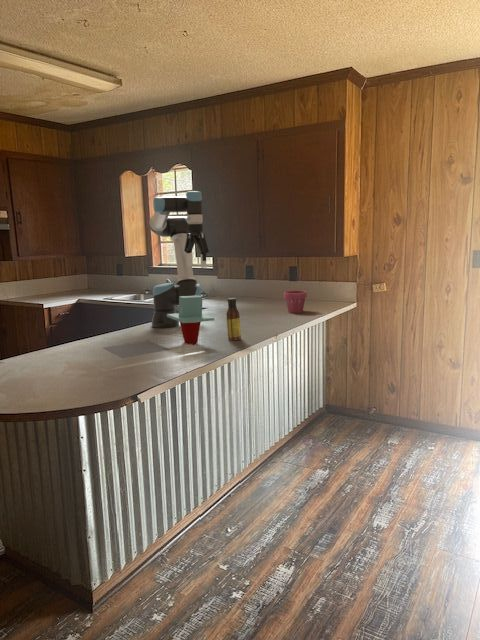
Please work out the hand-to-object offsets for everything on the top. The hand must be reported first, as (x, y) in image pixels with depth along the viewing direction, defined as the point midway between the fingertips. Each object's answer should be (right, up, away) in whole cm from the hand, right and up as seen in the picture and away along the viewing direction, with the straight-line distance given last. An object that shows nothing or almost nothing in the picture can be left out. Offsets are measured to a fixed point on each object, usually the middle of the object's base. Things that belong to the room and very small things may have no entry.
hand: (196, 266), depth 245 cm
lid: (-1, -26, -20) cm, 33 cm away
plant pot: (+56, -22, +62) cm, 87 cm away
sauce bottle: (+19, -36, -11) cm, 42 cm away
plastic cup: (-1, -38, -18) cm, 42 cm away
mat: (-25, -40, -27) cm, 54 cm away
